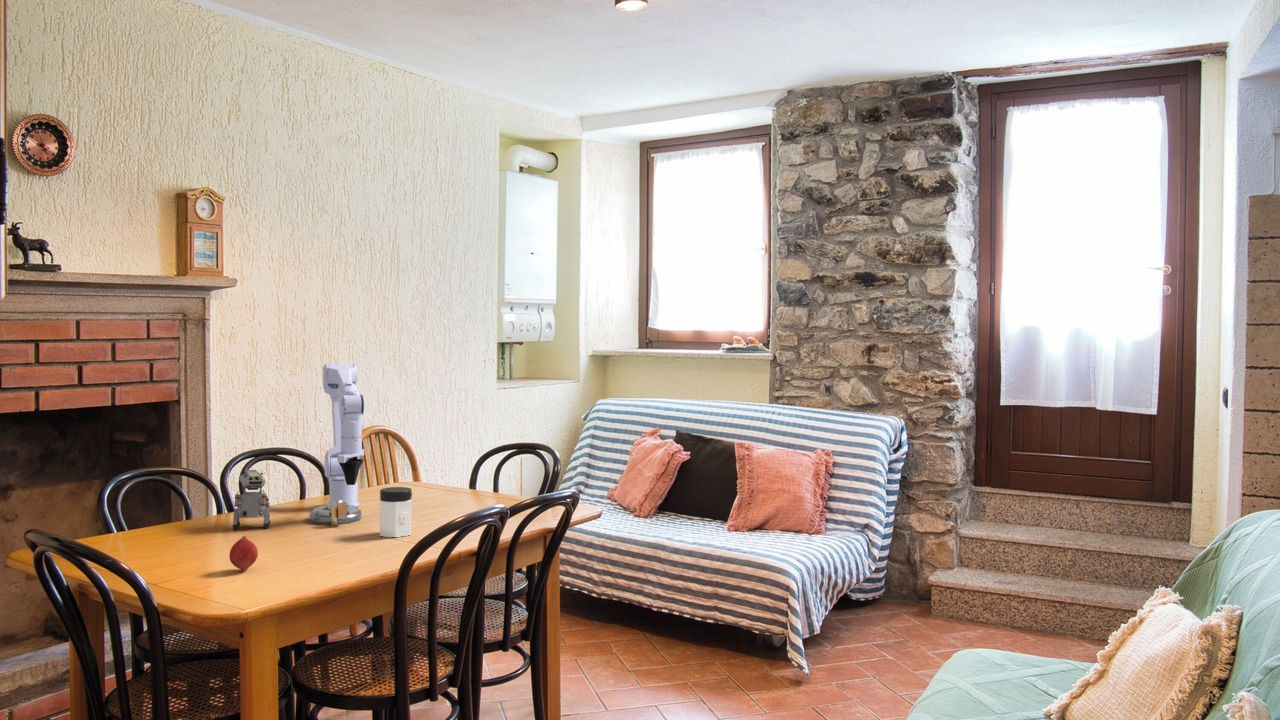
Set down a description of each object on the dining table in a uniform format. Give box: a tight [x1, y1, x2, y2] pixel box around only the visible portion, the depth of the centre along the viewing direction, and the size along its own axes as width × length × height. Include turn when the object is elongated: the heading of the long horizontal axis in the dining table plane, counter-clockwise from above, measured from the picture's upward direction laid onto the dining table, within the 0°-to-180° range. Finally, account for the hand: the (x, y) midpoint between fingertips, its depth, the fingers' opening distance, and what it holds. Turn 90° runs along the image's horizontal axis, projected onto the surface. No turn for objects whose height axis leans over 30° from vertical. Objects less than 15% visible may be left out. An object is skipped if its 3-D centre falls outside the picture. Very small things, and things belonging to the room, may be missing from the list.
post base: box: [308, 499, 362, 525], centre depth 259 cm, size 14×14×6 cm
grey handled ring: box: [312, 502, 359, 519], centre depth 257 cm, size 16×12×4 cm
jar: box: [379, 486, 413, 538], centre depth 242 cm, size 9×8×12 cm
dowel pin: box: [330, 508, 338, 527], centre depth 251 cm, size 2×2×5 cm
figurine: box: [232, 469, 271, 531], centre depth 248 cm, size 9×12×15 cm
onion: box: [228, 534, 259, 572], centre depth 203 cm, size 6×6×8 cm
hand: (350, 484), depth 260 cm, fingers closed
